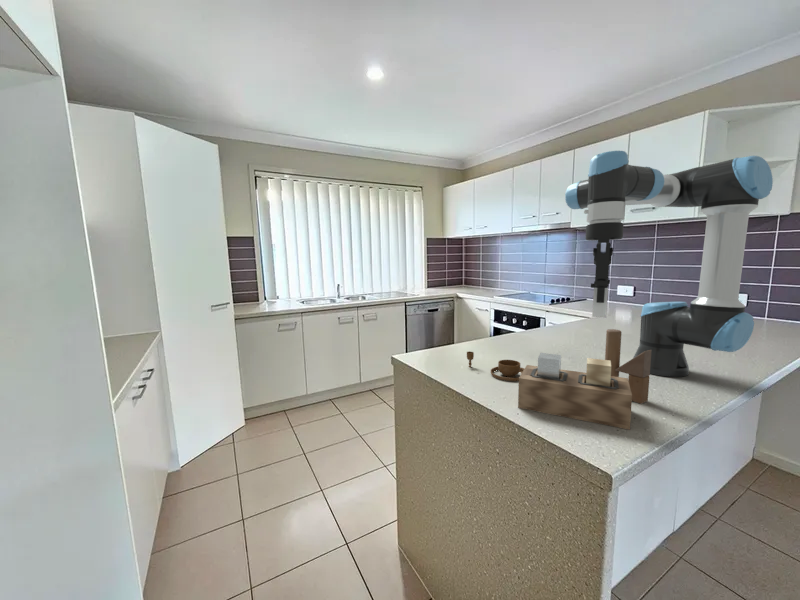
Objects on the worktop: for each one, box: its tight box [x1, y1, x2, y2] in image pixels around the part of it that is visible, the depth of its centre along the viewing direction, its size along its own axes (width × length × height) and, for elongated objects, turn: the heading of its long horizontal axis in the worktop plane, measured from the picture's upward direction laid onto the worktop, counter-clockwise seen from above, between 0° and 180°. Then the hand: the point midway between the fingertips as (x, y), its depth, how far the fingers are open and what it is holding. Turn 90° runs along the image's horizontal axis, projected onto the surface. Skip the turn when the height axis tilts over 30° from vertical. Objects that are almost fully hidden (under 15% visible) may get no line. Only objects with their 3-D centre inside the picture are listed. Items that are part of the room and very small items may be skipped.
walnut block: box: [517, 364, 633, 430], centre depth 85 cm, size 24×12×8 cm, turn 60°
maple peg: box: [585, 357, 611, 387], centre depth 82 cm, size 5×5×7 cm
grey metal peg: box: [537, 352, 562, 379], centre depth 87 cm, size 5×5×7 cm
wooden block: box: [604, 328, 652, 405], centre depth 91 cm, size 4×11×18 cm, turn 29°
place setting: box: [466, 351, 525, 382], centre depth 114 cm, size 18×20×6 cm
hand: (599, 313), depth 80 cm, fingers open, 13 cm apart
